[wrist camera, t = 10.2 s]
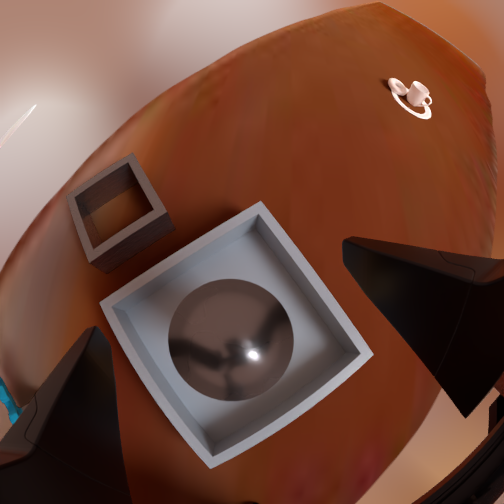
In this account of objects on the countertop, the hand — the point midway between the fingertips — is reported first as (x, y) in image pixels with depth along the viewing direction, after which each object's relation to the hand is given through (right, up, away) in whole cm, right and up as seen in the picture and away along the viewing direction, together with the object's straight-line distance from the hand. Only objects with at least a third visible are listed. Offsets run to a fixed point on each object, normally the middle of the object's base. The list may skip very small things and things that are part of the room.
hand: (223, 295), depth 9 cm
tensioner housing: (-11, +4, +15) cm, 19 cm away
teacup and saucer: (+28, +29, +27) cm, 48 cm away
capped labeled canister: (-1, -5, +12) cm, 13 cm away
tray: (-1, -5, +12) cm, 14 cm away
